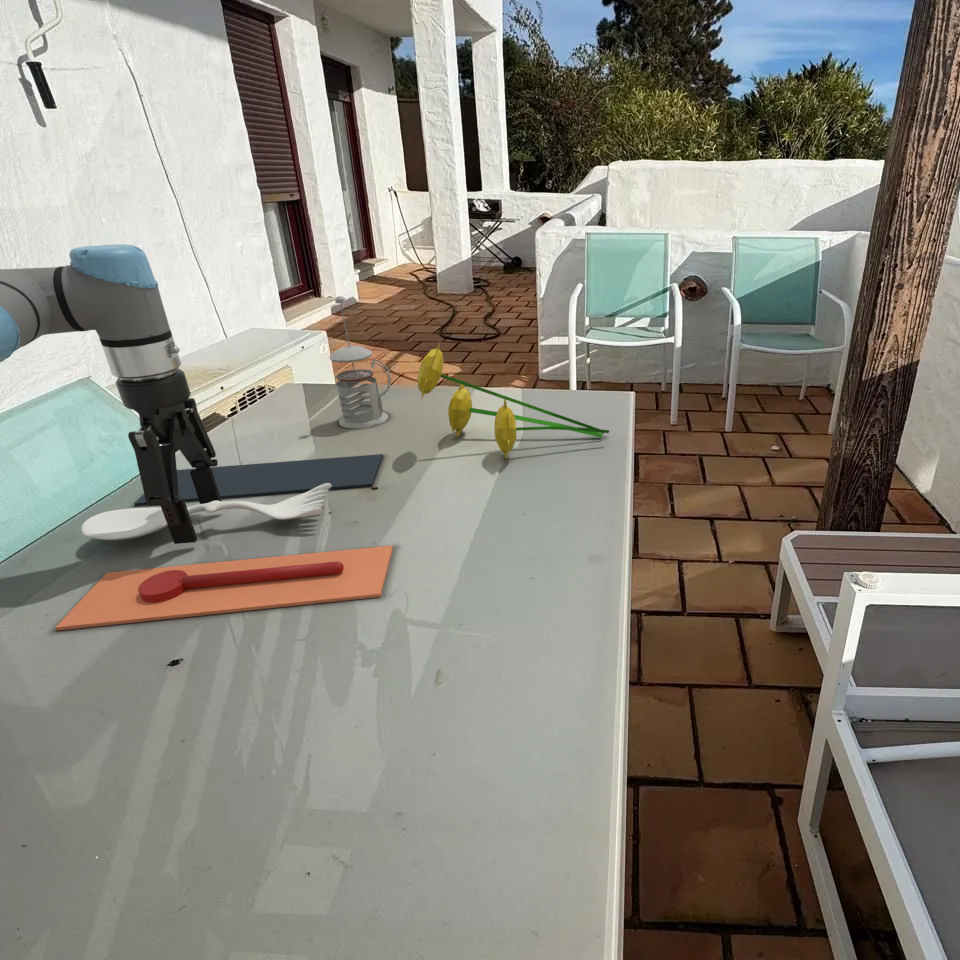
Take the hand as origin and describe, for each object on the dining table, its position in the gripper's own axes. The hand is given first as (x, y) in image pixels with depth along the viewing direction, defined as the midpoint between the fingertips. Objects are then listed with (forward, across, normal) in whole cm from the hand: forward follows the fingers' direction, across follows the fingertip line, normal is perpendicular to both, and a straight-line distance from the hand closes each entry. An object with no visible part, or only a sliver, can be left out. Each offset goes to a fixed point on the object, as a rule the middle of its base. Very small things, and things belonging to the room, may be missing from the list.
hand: (200, 524), depth 92 cm
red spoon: (+1, -15, -10) cm, 19 cm away
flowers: (+1, +24, -46) cm, 52 cm away
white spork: (+1, 0, -2) cm, 2 cm away
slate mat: (+1, +16, -4) cm, 17 cm away
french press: (+1, +42, -16) cm, 45 cm away
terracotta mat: (+1, -15, -10) cm, 19 cm away
